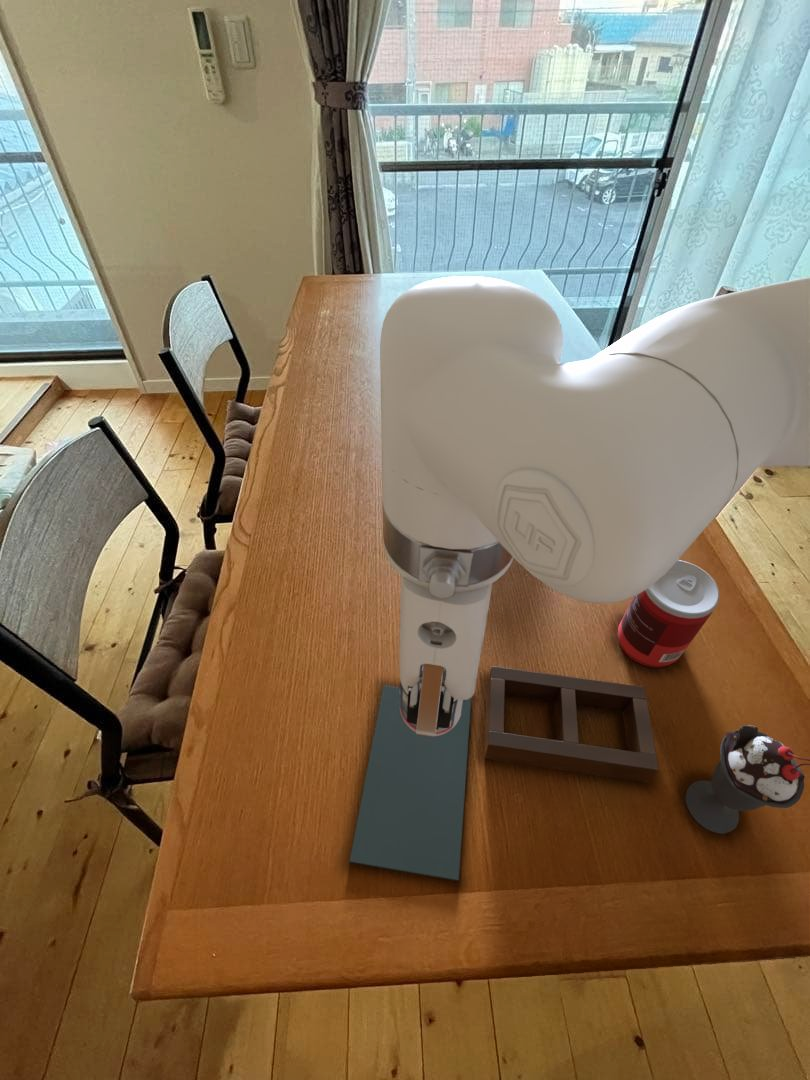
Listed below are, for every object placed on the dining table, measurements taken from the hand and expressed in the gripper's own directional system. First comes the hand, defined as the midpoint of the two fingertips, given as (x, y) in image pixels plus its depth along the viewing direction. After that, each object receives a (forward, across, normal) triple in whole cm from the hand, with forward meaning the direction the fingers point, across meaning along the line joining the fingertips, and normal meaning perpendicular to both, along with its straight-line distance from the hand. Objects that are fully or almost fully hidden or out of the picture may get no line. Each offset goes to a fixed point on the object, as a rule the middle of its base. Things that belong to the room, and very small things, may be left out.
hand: (432, 684), depth 44 cm
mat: (+18, 0, +1) cm, 18 cm away
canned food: (+18, +20, -25) cm, 37 cm away
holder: (+18, +7, -14) cm, 24 cm away
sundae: (+18, +1, -29) cm, 34 cm away
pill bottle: (+4, 0, 0) cm, 4 cm away
